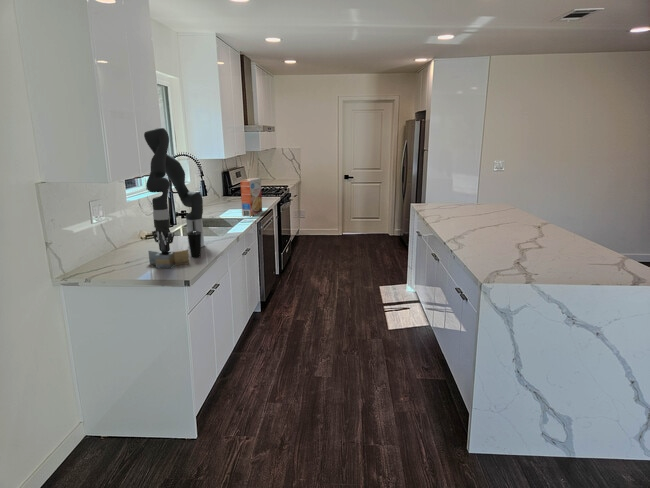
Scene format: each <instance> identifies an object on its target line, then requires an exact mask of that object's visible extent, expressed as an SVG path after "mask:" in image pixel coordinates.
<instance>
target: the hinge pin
mask: <svg viewBox="0 0 650 488" xmlns="http://www.w3.org/2000/svg"><path fill="white" fill-rule="evenodd" d="M165 239H166V238H165ZM166 241H167V240H166ZM160 243H161V251H160V252H162V255H168V252H165V243H164V240H163V238H162V235H161V234H160Z"/></svg>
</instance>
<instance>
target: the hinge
mask: <svg viewBox="0 0 650 488" xmlns="http://www.w3.org/2000/svg"><path fill="white" fill-rule="evenodd" d="M147 252H148V259H149V260H148V261H149V265H155V266H156V267H155V268H156V269H167V270H169V269H172V268H173V267H174V266H177V265H179V266H180V265H184V264H189V263H190V255H189V249H185V250H184V249H183V250H177V251H168V255H162V252H161V251H156V250H148V251H147Z"/></svg>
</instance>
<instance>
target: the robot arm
mask: <svg viewBox="0 0 650 488" xmlns="http://www.w3.org/2000/svg"><path fill="white" fill-rule="evenodd" d="M143 136H144V140H145V142H146V144H147V145H148V147H149V149H150V150H151V151H152V152H153V155H152V157H151V160H150V173H149V175H148V177H147V180H146V189H147V191H148V192H149V193H162V194H161V195H158V196H155V197H153V198H152V199H151V200H152V201H151V202H152V216H153V227H154V228H155V230H152V231H151V234H152V236H153V238H154V239H153V240H154V242H155V243H157V244H158V248H159V252H161V243H160V234H161V235H162V238H163V240H164V243H165V252H168V251H170V250H171V248H170V247H171V245H170V244H173V242H174V237H175V232H171V229H170V227H171V220H170V212H169V205H168V194H169V191H170V182H171V184H172V185H173V187H174V189H175V190H176V192H177V195H178V197H179V199H180V201H181V203H182V205H183V206H184V207H187V208H191V211H190V212H188V213H186V214H185V221H186V222H185V223H186V234H187V233H188V232H190V231H193V221H194V229H195V230H196V231H199V232H201V248H203V247H205V239H204V238H205V235H204V225H203V213H204V208H203V206H204V203H203V202H204V200H203V196H202V194H201V192H199V191H197V192H196V191H190V190H189V189H188V187H187V185H186V182H185V181H186V171H185V170H184V168H183V166H182V164H181V163H180V162H179V160H178V159H176V158H175V157H172V156H171V155H169V154H168V150H169V143H170V138H169V137H170V136H169V133H168V132H167V130H166V128H164V127H157V128H153V129H149V130H147V131H145V132H144V134H143ZM166 175H167V177H168V178H169V179H168V178H166V177H165V176H166ZM169 180H170V181H169ZM165 238H166V239H165ZM166 240H167V241H166ZM187 245H188V248H190V245H189V240H188V239H187Z"/></svg>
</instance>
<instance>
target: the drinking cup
mask: <svg viewBox="0 0 650 488" xmlns="http://www.w3.org/2000/svg"><path fill="white" fill-rule="evenodd" d="M186 235H187V241H188V240H189V245H190V247H189V250H190V255H191V258H192V259H194V258H195V259H197V258H200V257H201V253H202V251H201V248H202V247H201V232H199V231H196V230H195V229H194V221H193V231H190V232H188V233H187V232H186Z"/></svg>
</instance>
